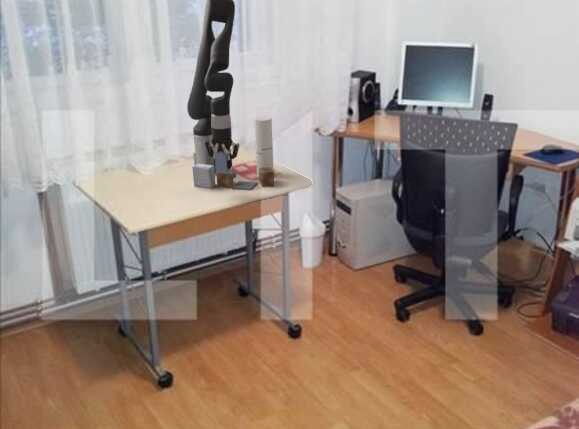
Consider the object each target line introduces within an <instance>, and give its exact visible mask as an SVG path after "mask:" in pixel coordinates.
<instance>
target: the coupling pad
mask: <svg viewBox="0 0 579 429" xmlns="http://www.w3.org/2000/svg"><path fill="white" fill-rule="evenodd" d="M257 185H258V181H247V180H238V181H237V182H236V183H235V184H234V185H233V186H232V190H244V191H252V190H253V189H254V188H255V187H256V186H257Z"/></svg>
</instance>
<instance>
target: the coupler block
mask: <svg viewBox="0 0 579 429" xmlns="http://www.w3.org/2000/svg"><path fill="white" fill-rule="evenodd" d="M227 160H228V159H227V155H226V154H225V152H223V151H219V152H217V153H215V166H216V173H223V174H227V173H228V172H229V171H231V169H232V167H231V168H230V169H228V168H227ZM216 173H215V174H216Z"/></svg>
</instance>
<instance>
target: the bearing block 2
mask: <svg viewBox="0 0 579 429" xmlns="http://www.w3.org/2000/svg"><path fill="white" fill-rule="evenodd" d="M258 178H259V183H260V185H261V187H263V188H264V187H265V188H266V187H273V186H275V171H273V170H272V168H271V167H267V168H259V177H258Z"/></svg>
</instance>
